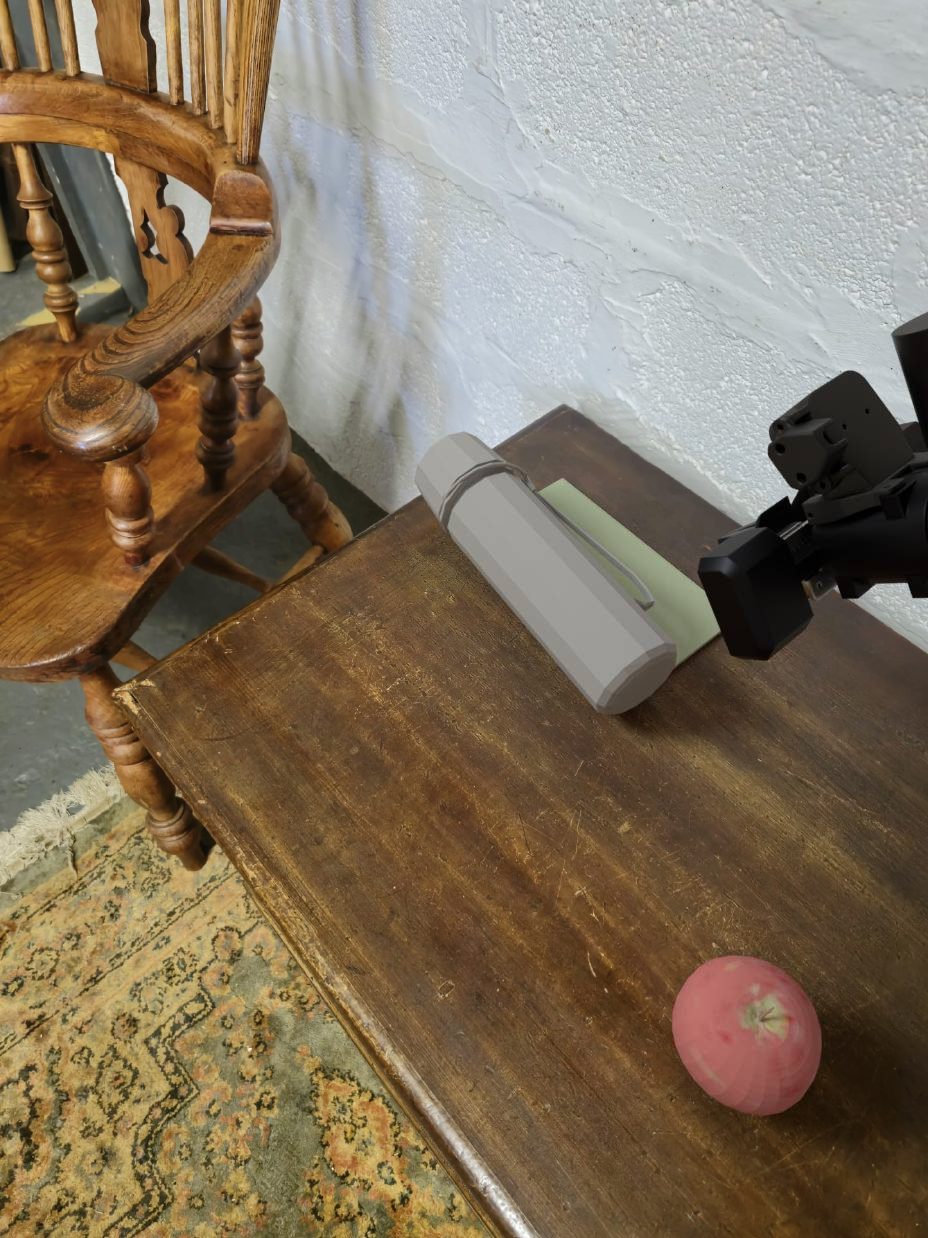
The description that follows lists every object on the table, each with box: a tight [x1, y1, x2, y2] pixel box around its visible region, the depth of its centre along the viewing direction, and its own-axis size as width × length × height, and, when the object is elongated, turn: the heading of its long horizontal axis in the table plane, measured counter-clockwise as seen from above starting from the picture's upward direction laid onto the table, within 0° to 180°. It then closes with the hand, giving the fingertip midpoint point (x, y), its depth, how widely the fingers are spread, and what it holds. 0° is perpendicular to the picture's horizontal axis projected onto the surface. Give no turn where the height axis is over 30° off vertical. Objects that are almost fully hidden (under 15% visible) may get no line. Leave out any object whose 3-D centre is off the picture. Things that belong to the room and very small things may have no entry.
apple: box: [671, 954, 823, 1117], centre depth 45 cm, size 7×7×8 cm
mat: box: [537, 477, 722, 670], centre depth 69 cm, size 20×12×1 cm, turn 40°
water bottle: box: [413, 431, 677, 716], centre depth 64 cm, size 9×8×25 cm
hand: (722, 544), depth 55 cm, fingers closed
